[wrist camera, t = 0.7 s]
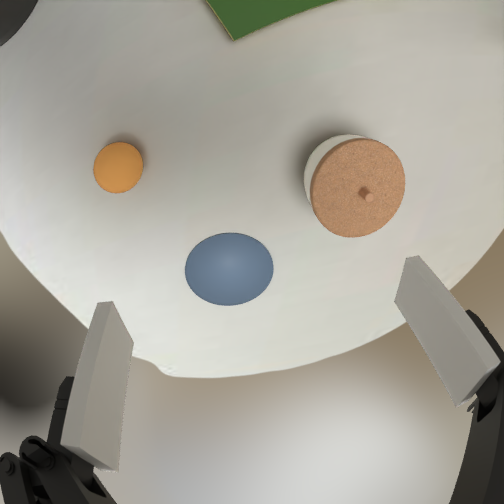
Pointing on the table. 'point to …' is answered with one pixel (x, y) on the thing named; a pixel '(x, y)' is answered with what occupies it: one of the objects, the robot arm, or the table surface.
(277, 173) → the table surface
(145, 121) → the table surface
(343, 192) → the lidded jar
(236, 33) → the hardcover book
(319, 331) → the table surface
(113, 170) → the ball
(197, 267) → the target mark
